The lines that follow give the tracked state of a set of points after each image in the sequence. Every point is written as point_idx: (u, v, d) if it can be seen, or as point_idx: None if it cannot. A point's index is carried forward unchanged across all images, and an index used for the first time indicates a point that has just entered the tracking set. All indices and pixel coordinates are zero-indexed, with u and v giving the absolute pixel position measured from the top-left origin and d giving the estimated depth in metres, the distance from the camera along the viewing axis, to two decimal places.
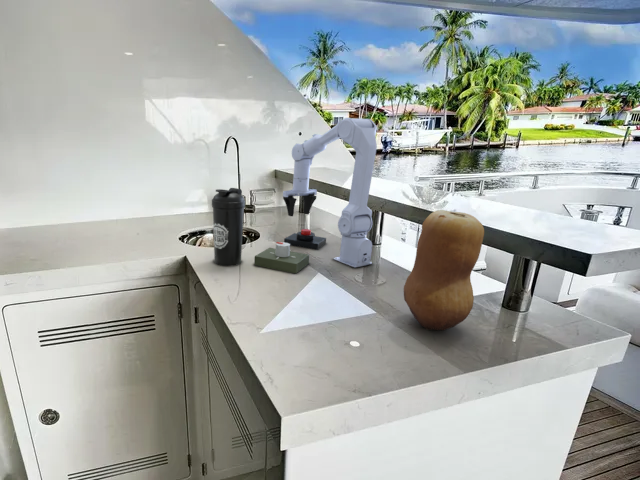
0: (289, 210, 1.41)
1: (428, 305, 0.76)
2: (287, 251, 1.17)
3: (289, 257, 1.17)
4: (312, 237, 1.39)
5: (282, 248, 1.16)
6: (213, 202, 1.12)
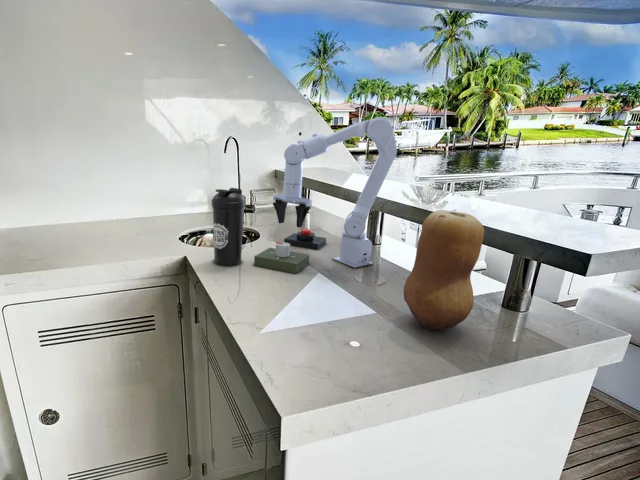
0: (300, 221, 1.23)
1: (428, 305, 0.76)
2: (287, 251, 1.17)
3: (289, 257, 1.17)
4: (312, 237, 1.39)
5: (282, 248, 1.16)
6: (213, 202, 1.12)
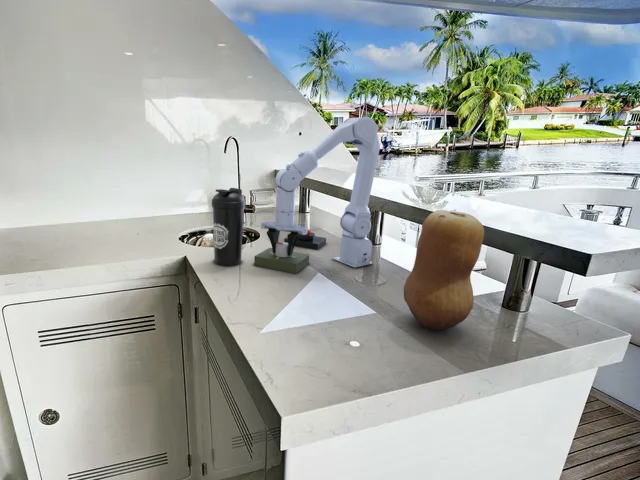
0: (291, 249, 1.17)
1: (428, 305, 0.76)
2: (287, 251, 1.17)
3: (289, 257, 1.17)
4: (312, 237, 1.39)
5: (282, 248, 1.16)
6: (213, 202, 1.12)
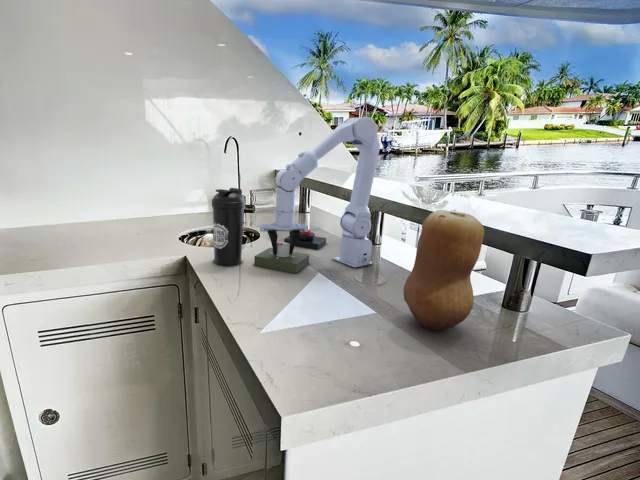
0: None
1: (428, 305, 0.76)
2: (289, 250, 1.18)
3: (289, 257, 1.17)
4: (312, 237, 1.39)
5: (286, 248, 1.16)
6: (213, 202, 1.12)
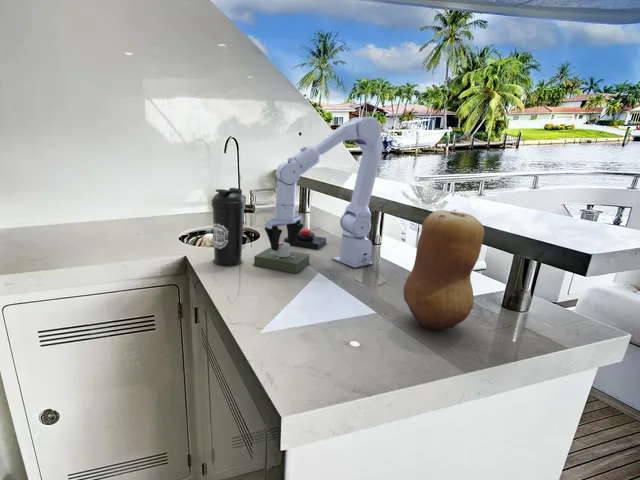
0: None
1: (428, 305, 0.76)
2: None
3: (289, 257, 1.17)
4: (312, 237, 1.39)
5: (289, 247, 1.17)
6: (213, 202, 1.12)
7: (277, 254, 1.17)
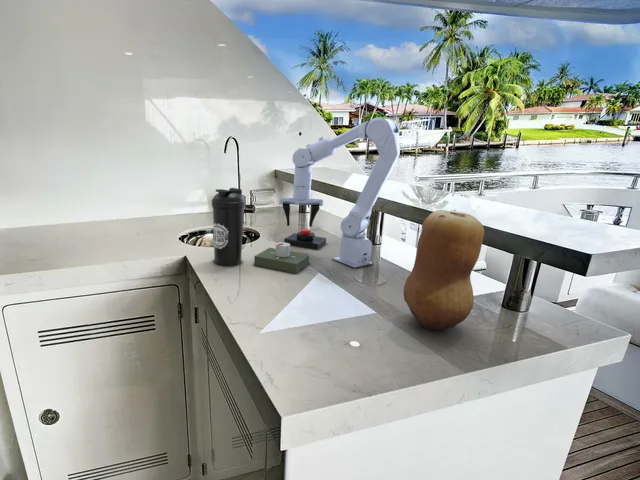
0: None
1: (428, 305, 0.76)
2: None
3: (289, 257, 1.17)
4: (312, 237, 1.39)
5: (289, 247, 1.17)
6: (213, 202, 1.12)
7: (277, 254, 1.17)
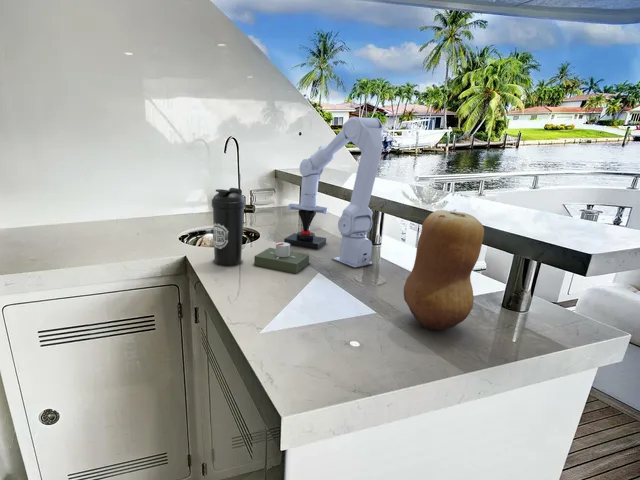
0: (308, 225, 1.40)
1: (428, 305, 0.76)
2: None
3: (289, 257, 1.17)
4: (312, 237, 1.39)
5: (289, 247, 1.17)
6: (213, 202, 1.12)
7: (277, 254, 1.17)
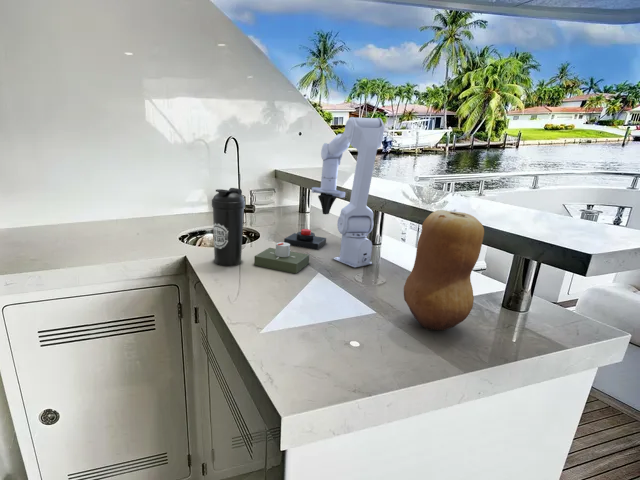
0: (327, 209, 1.44)
1: (428, 305, 0.76)
2: None
3: (289, 257, 1.17)
4: (312, 237, 1.39)
5: (289, 247, 1.17)
6: (213, 202, 1.12)
7: (277, 254, 1.17)
